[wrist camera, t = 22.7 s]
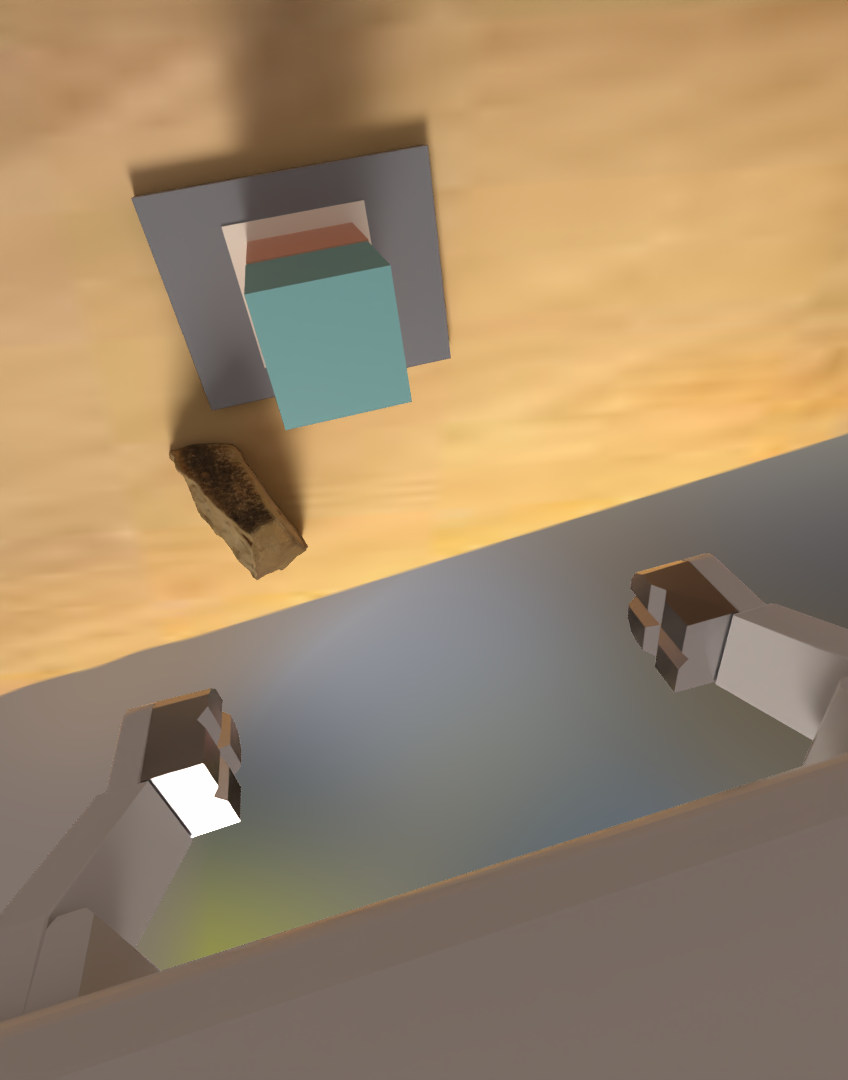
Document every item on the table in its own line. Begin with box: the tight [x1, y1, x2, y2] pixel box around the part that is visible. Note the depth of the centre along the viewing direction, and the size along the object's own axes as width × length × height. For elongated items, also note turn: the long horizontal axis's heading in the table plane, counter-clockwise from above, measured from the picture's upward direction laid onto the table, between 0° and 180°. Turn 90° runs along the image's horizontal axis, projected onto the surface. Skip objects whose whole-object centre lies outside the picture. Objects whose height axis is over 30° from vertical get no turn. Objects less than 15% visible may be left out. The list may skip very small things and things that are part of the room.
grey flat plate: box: [131, 145, 451, 410], centre depth 35 cm, size 16×12×1 cm
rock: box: [169, 444, 308, 580], centre depth 41 cm, size 11×9×10 cm
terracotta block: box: [246, 222, 369, 265], centre depth 33 cm, size 6×6×6 cm
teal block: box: [244, 241, 412, 430], centre depth 28 cm, size 6×6×6 cm
